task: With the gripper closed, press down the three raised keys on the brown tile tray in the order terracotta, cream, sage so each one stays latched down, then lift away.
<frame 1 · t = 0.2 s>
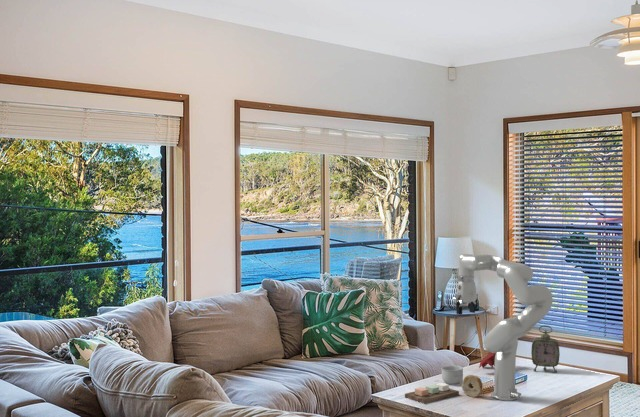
hand: (465, 313, 349), 36 cm above the table, tool pointing down, fingers open, 9 cm apart
tile sage: (432, 389, 331), point 3 cm above the table, slide at 0.0 cm
bagel: (472, 396, 332), on the table
tile terracotta: (421, 391, 327), point 3 cm above the table, slide at 0.0 cm
decorative bird sculpture: (492, 369, 384), on the table
brown tile tray: (432, 396, 331), on the table
teacup: (453, 382, 356), on the table
tile cream: (442, 387, 335), point 3 cm above the table, slide at 0.0 cm
tabletop clock: (545, 371, 381), on the table
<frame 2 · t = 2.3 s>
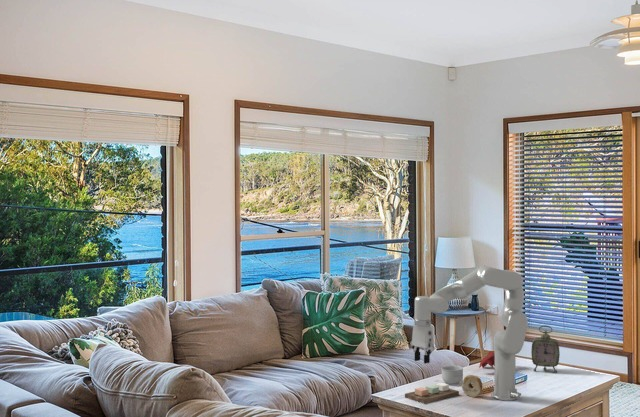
hand: (422, 361, 326), 17 cm above the table, tool pointing down, fingers open, 5 cm apart
nothing on the table moved.
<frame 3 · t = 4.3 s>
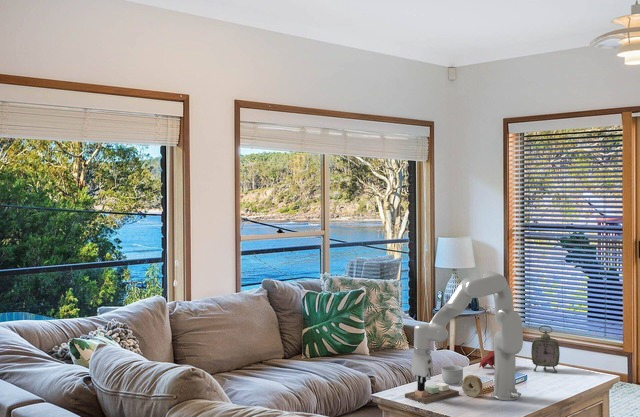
hand: (421, 390, 327), 4 cm above the table, tool pointing down, fingers closed
tile terracotta: (421, 393, 327), point 3 cm above the table, slide at 0.7 cm, touching gripper
everything else where it was.
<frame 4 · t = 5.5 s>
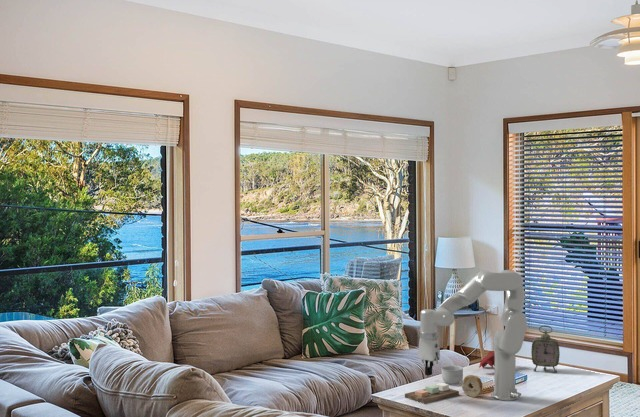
hand: (428, 374, 329), 11 cm above the table, tool pointing down, fingers closed
tile terracotta: (421, 394, 327), point 2 cm above the table, slide at 1.1 cm
everything else where it was.
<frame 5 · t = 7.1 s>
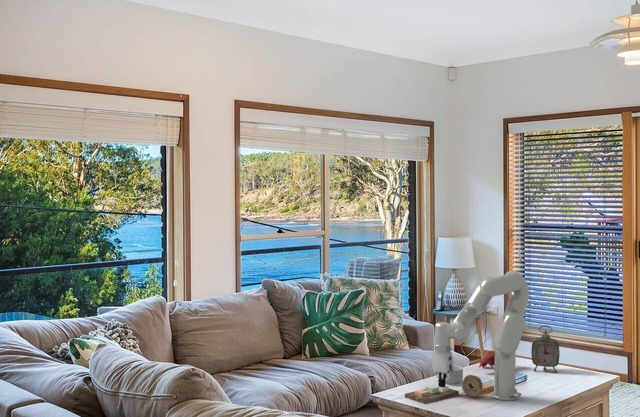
hand: (441, 386, 335), 4 cm above the table, tool pointing down, fingers closed
tile cream: (442, 389, 335), point 2 cm above the table, slide at 1.1 cm, touching gripper
everything else where it was.
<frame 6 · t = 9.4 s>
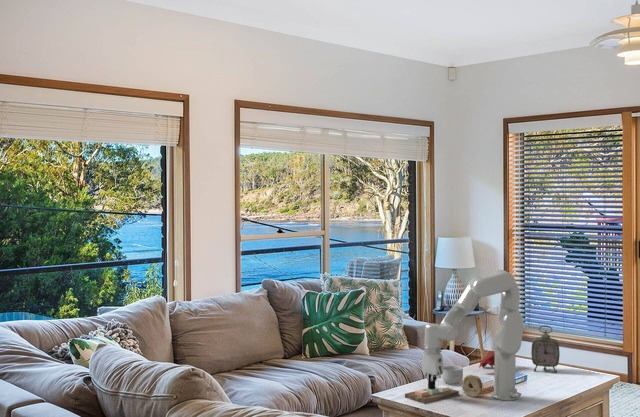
hand: (431, 388, 331), 4 cm above the table, tool pointing down, fingers closed
tile sage: (432, 391, 331), point 2 cm above the table, slide at 1.0 cm, touching gripper
tile cream: (442, 389, 335), point 2 cm above the table, slide at 1.1 cm
everything else where it was.
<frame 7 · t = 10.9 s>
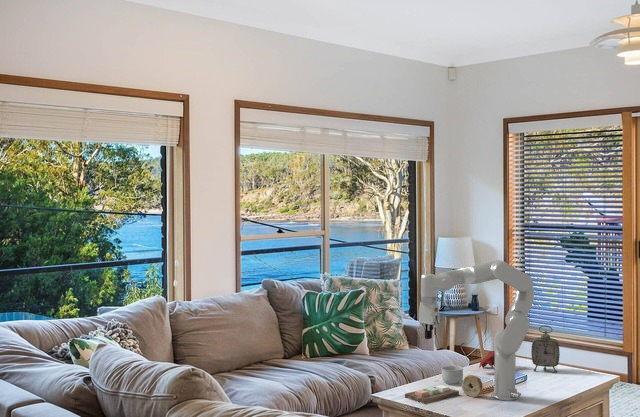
hand: (428, 338, 333), 27 cm above the table, tool pointing down, fingers closed
tile sage: (432, 391, 331), point 2 cm above the table, slide at 1.1 cm
everything else where it was.
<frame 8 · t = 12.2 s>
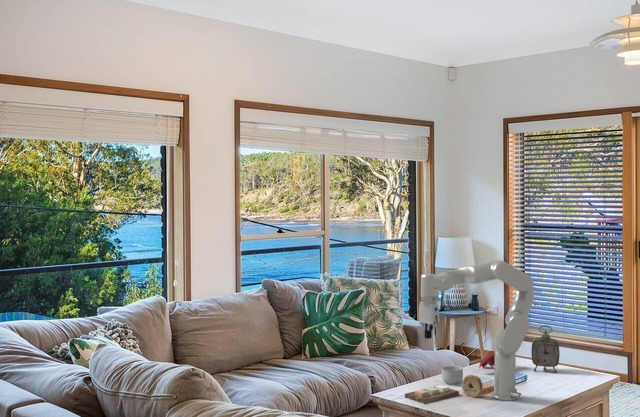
hand: (428, 338, 333), 27 cm above the table, tool pointing down, fingers closed
nothing on the table moved.
at the end: tile terracotta slide at 1.1 cm; tile cream slide at 1.1 cm; tile sage slide at 1.1 cm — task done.
